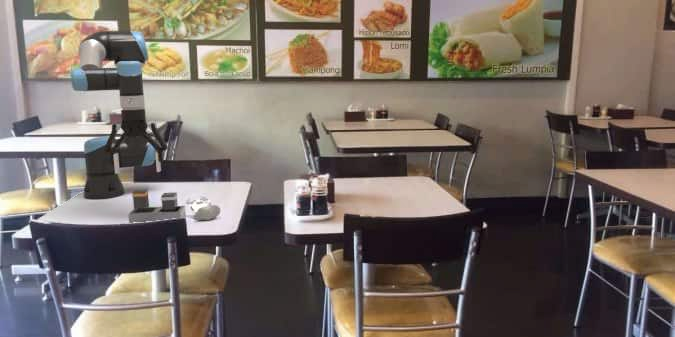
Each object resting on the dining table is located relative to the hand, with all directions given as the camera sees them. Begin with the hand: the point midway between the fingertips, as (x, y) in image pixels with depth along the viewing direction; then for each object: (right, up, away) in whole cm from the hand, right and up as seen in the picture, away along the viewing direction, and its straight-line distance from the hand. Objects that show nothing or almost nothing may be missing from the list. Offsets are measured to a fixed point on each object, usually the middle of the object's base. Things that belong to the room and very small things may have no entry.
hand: (138, 172), depth 192 cm
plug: (0, -15, +3) cm, 16 cm away
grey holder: (+9, -17, -8) cm, 21 cm away
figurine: (+22, -15, +1) cm, 27 cm away
